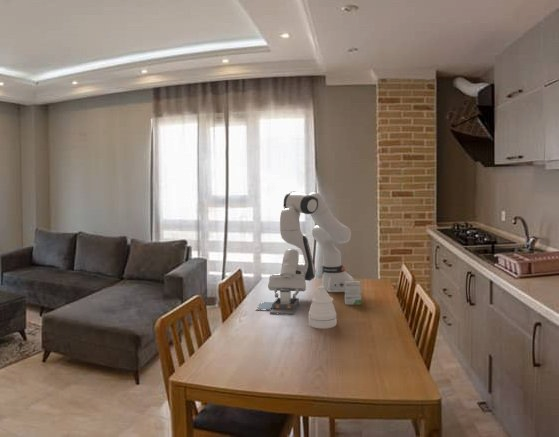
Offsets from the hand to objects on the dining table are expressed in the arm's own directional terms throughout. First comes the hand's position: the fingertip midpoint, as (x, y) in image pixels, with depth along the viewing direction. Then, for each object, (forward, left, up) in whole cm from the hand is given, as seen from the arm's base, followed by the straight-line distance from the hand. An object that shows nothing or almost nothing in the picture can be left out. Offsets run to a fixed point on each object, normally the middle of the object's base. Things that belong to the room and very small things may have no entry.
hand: (285, 297), depth 220 cm
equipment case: (0, +2, -6) cm, 6 cm away
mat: (+11, -1, -6) cm, 12 cm away
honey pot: (-22, +21, -6) cm, 31 cm away
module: (0, -1, -6) cm, 6 cm away
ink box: (-34, -13, -6) cm, 37 cm away
